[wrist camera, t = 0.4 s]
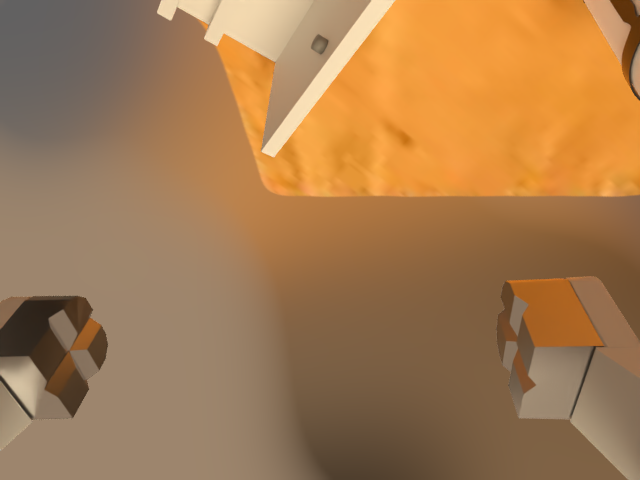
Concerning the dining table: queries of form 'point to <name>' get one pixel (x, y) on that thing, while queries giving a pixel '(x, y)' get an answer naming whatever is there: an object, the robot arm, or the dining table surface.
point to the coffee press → (621, 34)
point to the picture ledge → (289, 46)
